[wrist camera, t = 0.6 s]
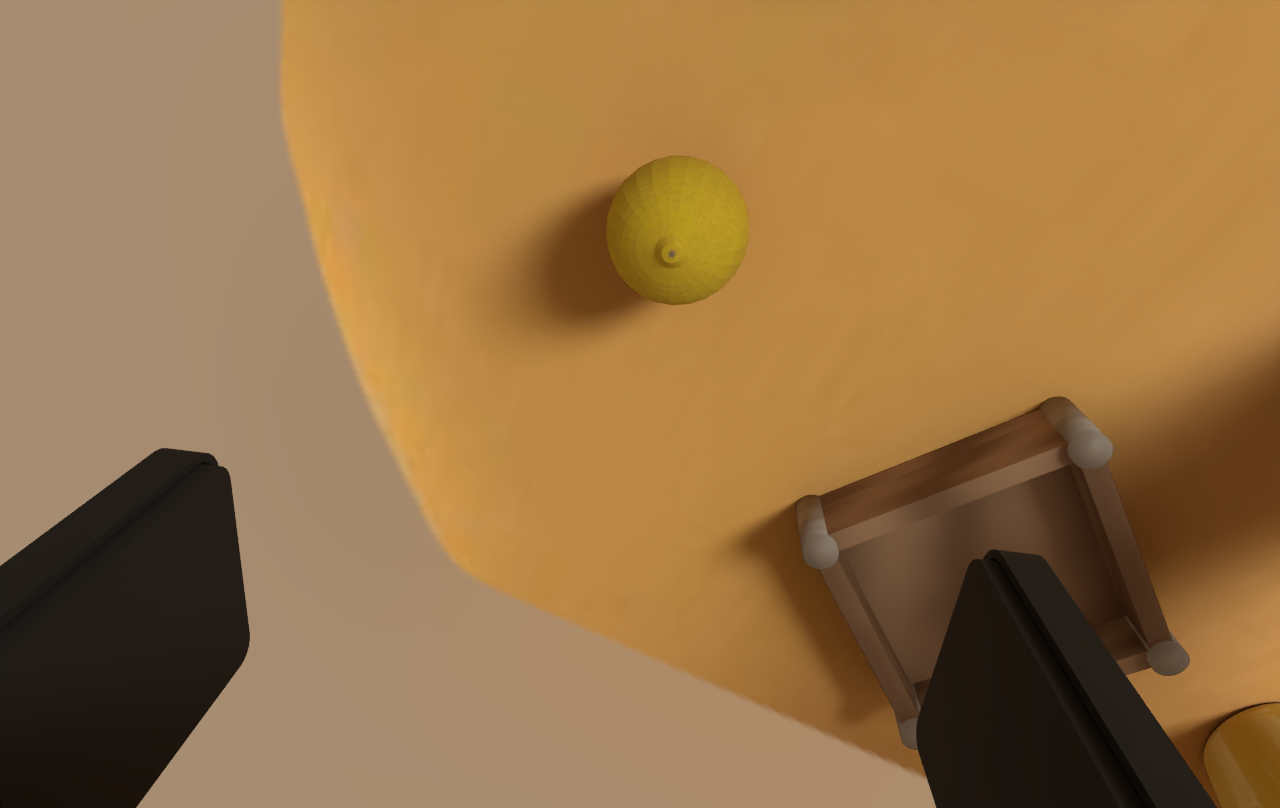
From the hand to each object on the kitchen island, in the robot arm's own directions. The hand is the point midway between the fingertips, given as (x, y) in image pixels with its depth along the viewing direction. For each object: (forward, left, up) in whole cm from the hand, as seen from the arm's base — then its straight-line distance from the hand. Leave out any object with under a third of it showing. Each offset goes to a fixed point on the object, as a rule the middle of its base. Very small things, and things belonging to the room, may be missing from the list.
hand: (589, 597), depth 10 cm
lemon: (0, 0, -27) cm, 27 cm away
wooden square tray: (-5, +22, -27) cm, 35 cm away
